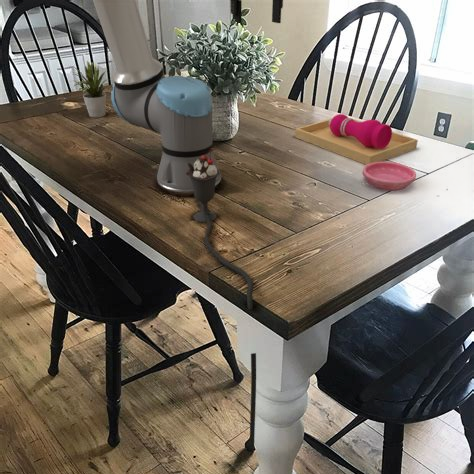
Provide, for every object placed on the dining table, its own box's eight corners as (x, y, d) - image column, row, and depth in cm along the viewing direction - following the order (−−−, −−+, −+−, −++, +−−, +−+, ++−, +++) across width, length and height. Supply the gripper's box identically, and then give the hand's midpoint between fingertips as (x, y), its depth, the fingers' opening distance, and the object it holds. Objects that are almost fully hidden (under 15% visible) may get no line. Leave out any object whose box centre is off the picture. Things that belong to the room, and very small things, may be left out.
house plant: (68, 110, 179) (59, 57, 169) (110, 105, 184) (103, 53, 174) (77, 123, 168) (68, 67, 159) (121, 117, 173) (115, 62, 164)
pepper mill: (388, 152, 149) (333, 136, 162) (396, 125, 146) (340, 111, 160) (372, 149, 144) (317, 133, 157) (381, 121, 141) (324, 107, 155)
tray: (416, 148, 150) (418, 139, 149) (369, 165, 140) (370, 156, 139) (341, 123, 168) (342, 115, 166) (294, 137, 158) (295, 128, 156)
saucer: (401, 171, 137) (403, 159, 135) (423, 192, 127) (426, 179, 125) (353, 174, 135) (355, 162, 133) (372, 196, 125) (374, 183, 123)
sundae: (227, 216, 117) (226, 148, 108) (204, 227, 113) (201, 157, 104) (205, 207, 121) (203, 140, 112) (183, 217, 117) (178, 149, 108)
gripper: (227, -70, 124) (228, 32, 136) (306, -72, 137) (301, 22, 149) (208, -71, 129) (210, 28, 141) (286, -73, 141) (282, 18, 154)
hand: (257, 25), depth 145 cm, fingers open, 13 cm apart
